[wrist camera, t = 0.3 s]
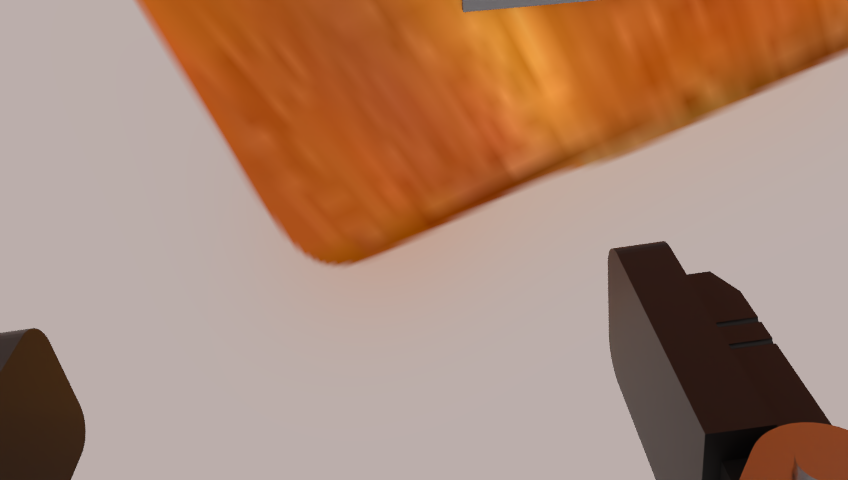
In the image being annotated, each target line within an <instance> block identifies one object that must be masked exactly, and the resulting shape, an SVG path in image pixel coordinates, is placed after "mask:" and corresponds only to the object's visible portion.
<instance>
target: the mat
mask: <svg viewBox="0 0 848 480" xmlns="http://www.w3.org/2000/svg"><path fill="white" fill-rule="evenodd" d="M582 1H593V0H462V8H463V12H469V11H481V10H492V9H503V8H514V7H526V6H537V5H548V4H559V3H571V2H582Z"/></svg>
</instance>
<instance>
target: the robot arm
mask: <svg viewBox="0 0 848 480" xmlns="http://www.w3.org/2000/svg"><path fill="white" fill-rule="evenodd" d="M608 298H609V342H610V351H611V357H612V362H613V367H614V371H615V374H616V378H617V381H618V384H619V386H620V389H621V391H622V394H623V396H624V399H625V402H626V404H627V407H628V409H629V412H630V414H631V417H632V419H633V422H634V425H635V427H636V430H637V432H638V435H639V438H640V440H641V442H642V445H643V448H644V450H645V453H646V455H647V458H648V461H649V463H650V466H651V468H652V471H653V473H654V476H655V479H656V480H848V430H846V429H843V428H840V427H836V426H832V425H831V423H830V422H829V420H828V419H827V418H826V416H825V414H824V413H823V411H822V410H821V409H820V407H819V406H818V404H817V403H816V401H815V400H814V398H813V397H812V395H811V394H810V392H809V391H808V390H807V388H806V387H805V385H804V384H803V382H802V381H801V379H800V378H799V376H798V375H797V374H796V372H795V371H794V369H793V368H792V366H791V365H790V363H789V362H788V360H787V359H786V357H785V356H784V355H783V353H782V352H781V350H780V349H779V347H778V346H777V345H776V344H773V341H772V337H771V336H770V334H769V333H768V331H767V330H766V328H765V327H764V325H763V324H762V322H758V317H757V315H756V314H755V312H754V311H753V309H752V308H751V306H750V305H749V303H748V302H747V301H746V299H745V298H744V296H743V295H742V293H741V292H740V291H739V290H737V289H736V288H734V287H733V286H731V285H730V284H728V283H727V282H725V281H724V280H722V279H720V278H719V277H717V276H716V275H714V274H713V273H711V272H703V273H695V274H689V275H686V273H685V271H684V270H683V268H682V266H681V265H680V263H679V261H678V260H677V258H676V256H675V255H674V253H673V251H672V250H671V248H670V247H669V245H668V244H667V243H666V242H664V241H662V242H656V243H649V244H642V245H634V246H627V247H620V248H613V249H611V250H610V251H609V256H608ZM84 443H85V420H84V415H83V412H82V409H81V406H80V404H79V402H78V400H77V398H76V396H75V394H74V392H73V390H72V388H71V386H70V383H69V381H68V379H67V377H66V375H65V373H64V371H63V369H62V367H61V365H60V363H59V361H58V358H57V356H56V354H55V352H54V350H53V348H52V346H51V344H50V342H49V340H48V338H47V337H46V336H45V334H44V333H43V332H42V331H40V330H38V329H35V328H33V329H25V330H18V331H11V332H5V333H0V480H71V478H72V476H73V473H74V471H75V468H76V466H77V463H78V461H79V459H80V456H81V454H82V451H83V448H84Z"/></svg>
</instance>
